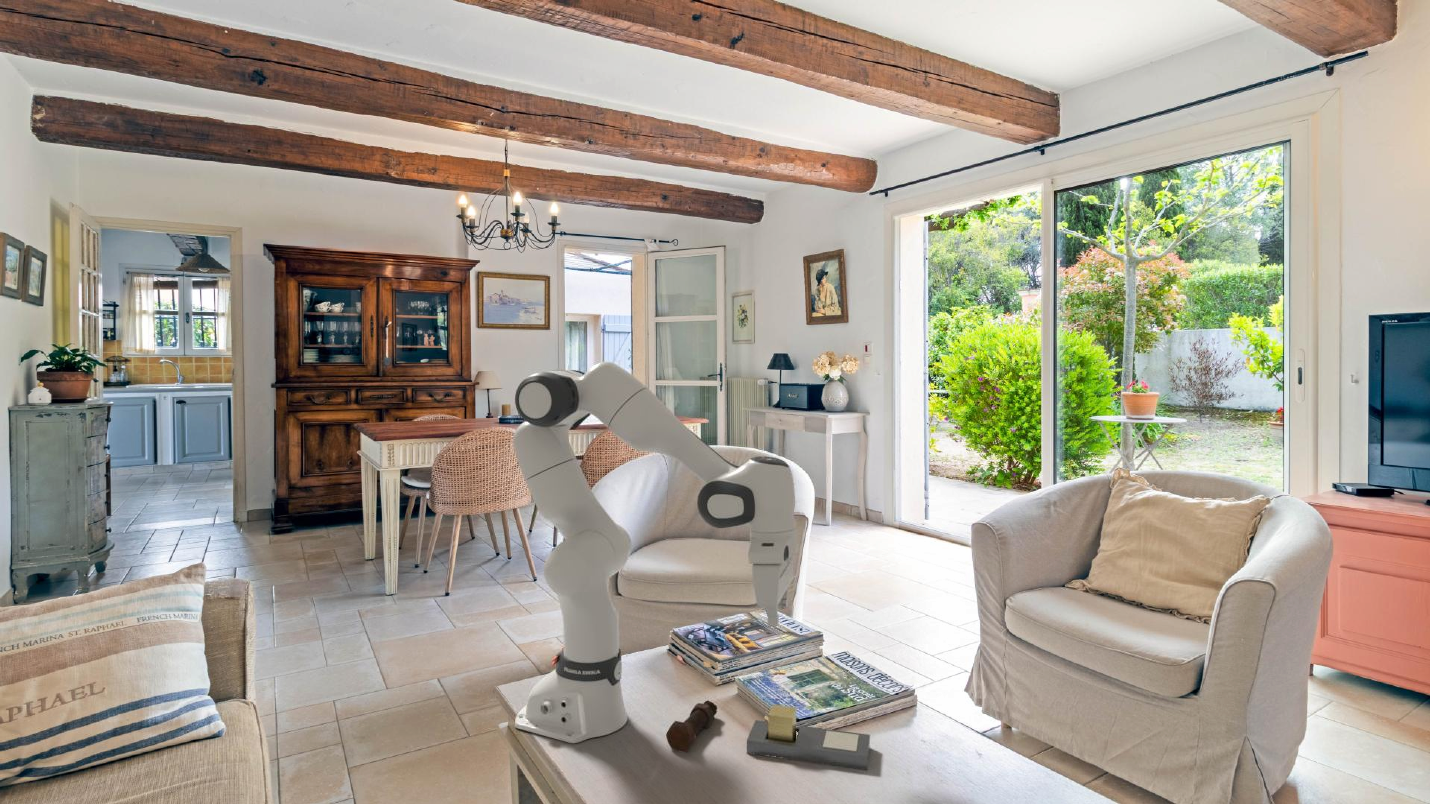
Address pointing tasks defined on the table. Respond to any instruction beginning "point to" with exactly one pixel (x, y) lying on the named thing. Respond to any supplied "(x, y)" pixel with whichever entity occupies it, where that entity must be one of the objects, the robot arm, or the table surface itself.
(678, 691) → the table surface
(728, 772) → the table surface
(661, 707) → the table surface
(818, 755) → the plate
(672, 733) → the bolt
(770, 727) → the tan block
